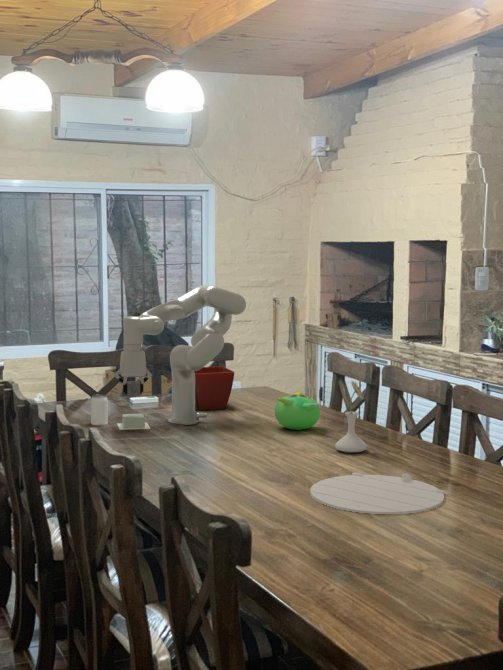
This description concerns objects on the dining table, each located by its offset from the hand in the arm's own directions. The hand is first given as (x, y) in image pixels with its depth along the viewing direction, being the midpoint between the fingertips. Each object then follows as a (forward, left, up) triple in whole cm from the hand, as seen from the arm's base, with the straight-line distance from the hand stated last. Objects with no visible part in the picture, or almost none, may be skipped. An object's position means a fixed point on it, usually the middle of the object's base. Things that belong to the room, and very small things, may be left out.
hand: (133, 393), depth 355 cm
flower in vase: (-72, +52, -14) cm, 90 cm away
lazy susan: (-61, +106, -14) cm, 123 cm away
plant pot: (-37, -38, -14) cm, 55 cm away
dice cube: (0, 0, -1) cm, 1 cm away
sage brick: (0, 0, -13) cm, 13 cm away
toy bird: (-63, +14, -14) cm, 66 cm away
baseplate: (0, 0, -14) cm, 14 cm away
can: (+13, -7, -14) cm, 20 cm away
